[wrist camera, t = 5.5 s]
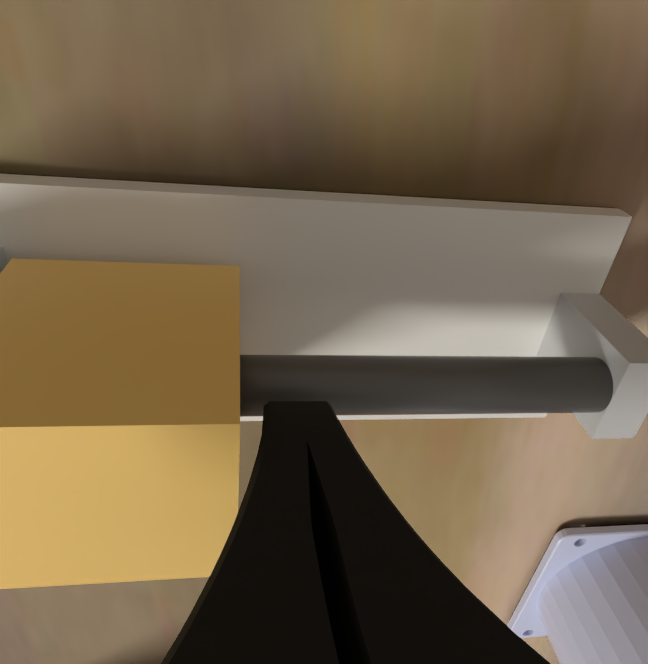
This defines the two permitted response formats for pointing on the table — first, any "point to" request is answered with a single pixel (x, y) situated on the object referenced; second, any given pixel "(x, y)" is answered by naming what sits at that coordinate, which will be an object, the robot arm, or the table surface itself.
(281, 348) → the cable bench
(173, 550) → the mustard yellow box
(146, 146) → the table surface
